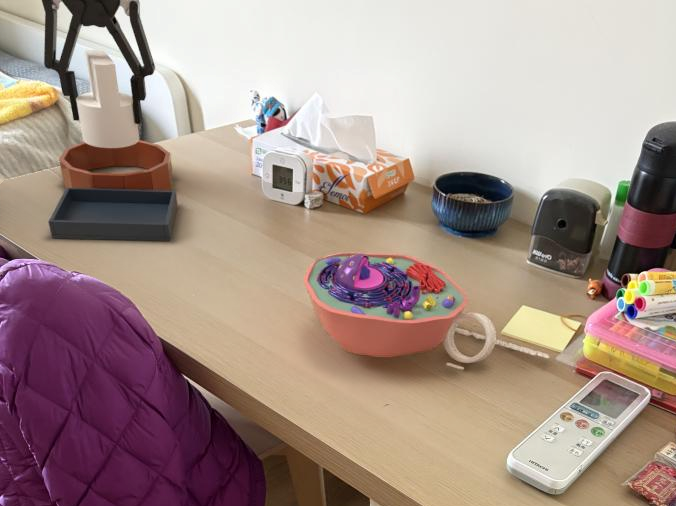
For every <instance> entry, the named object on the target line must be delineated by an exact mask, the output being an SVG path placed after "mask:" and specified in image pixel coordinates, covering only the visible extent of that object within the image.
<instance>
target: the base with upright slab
mask: <svg viewBox="0 0 676 506" xmlns="http://www.w3.org/2000/svg"><path fill="white" fill-rule="evenodd" d="M107 53H108V52H106V51H105V50H104V49H86V50H84V56H85V62H86V69H87V76H88V82H89V88H90V92H85V93H82V94H80V95H79V94H78V97H77V98H76V102H77V108H78V114H79V125H80V130H81V136H82V142H85V143H87V144H89V145H92V146H95V147H101V148H121V147H127V146H131V145H134V144H136V143H137V142H138V141H139V140H140V134H139V126H138V125H139V124H135V115H134V107H133V99H132V95H129V94H127V93H123V92H119V84H118V77H117V69H116V63H115V62H114V60H112V59H111V57H110V55H108V54H107Z"/></svg>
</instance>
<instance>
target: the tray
mask: <svg viewBox="0 0 676 506" xmlns="http://www.w3.org/2000/svg"><path fill="white" fill-rule="evenodd" d="M178 207H179V205H178V196H177V190H169V191H163V190H133V189H102V188H72V187H71V188H70V187H65V189H64V191H63V193H62V195H61V196H60V198H59V200H58V202H57V205H56V206H55V208H54V210H53V212H52V214H51V216H50V218H49V219H48V222H47V223H48V226H49V230H50V234H51V238H52V239H65V240H104V241H105V240H108V241H110V240H111V241H145V242H147V241H149V242H151V241H152V242H171V238H172V234H173V230H174V224H175V220H176V216H177V211H178Z"/></svg>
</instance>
